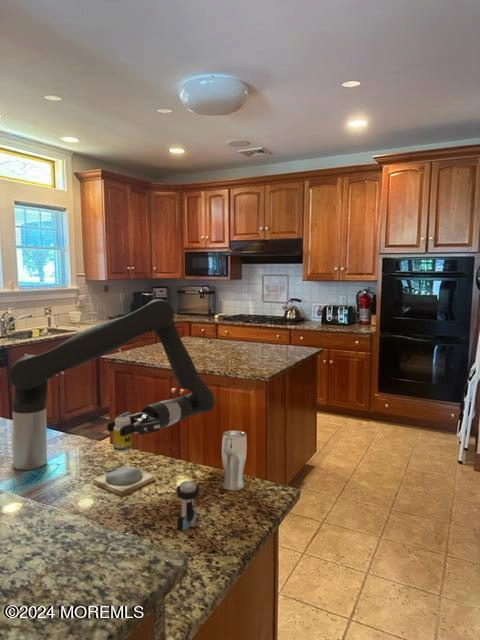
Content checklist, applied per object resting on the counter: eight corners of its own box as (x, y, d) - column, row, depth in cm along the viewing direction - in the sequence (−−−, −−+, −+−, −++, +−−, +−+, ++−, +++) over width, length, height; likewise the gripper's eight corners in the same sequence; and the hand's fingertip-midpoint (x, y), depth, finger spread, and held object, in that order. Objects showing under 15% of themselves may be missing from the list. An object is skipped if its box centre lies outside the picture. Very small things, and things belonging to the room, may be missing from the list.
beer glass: (249, 483, 126) (251, 432, 124) (239, 494, 119) (240, 440, 118) (227, 478, 128) (229, 428, 127) (216, 488, 122) (217, 436, 121)
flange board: (92, 482, 123) (92, 476, 123) (126, 468, 133) (126, 462, 133) (121, 495, 116) (121, 488, 116) (154, 479, 126) (154, 473, 126)
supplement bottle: (126, 453, 116) (126, 422, 115) (110, 451, 117) (110, 420, 116) (134, 446, 120) (134, 416, 120) (119, 444, 121) (118, 415, 121)
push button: (187, 514, 108) (188, 475, 107) (206, 520, 106) (206, 480, 105) (171, 527, 102) (171, 486, 102) (190, 534, 100) (191, 492, 99)
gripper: (145, 397, 133) (97, 410, 120) (179, 406, 125) (132, 422, 111) (145, 421, 134) (97, 437, 120) (179, 432, 126) (132, 450, 112)
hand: (114, 429), depth 116 cm, fingers closed on supplement bottle, 4 cm apart
